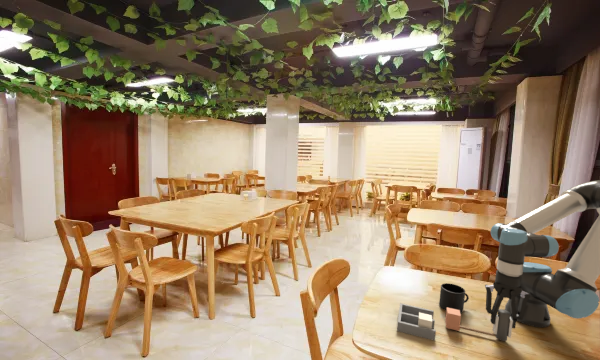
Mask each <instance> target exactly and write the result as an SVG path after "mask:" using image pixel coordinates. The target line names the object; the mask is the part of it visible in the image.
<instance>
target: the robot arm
mask: <svg viewBox="0 0 600 360" xmlns="http://www.w3.org/2000/svg"><path fill="white" fill-rule="evenodd" d="M592 209H594V210H596V212H597V213H598V217H597V218H596V220H595V221H594V222H593V224H592V225H591V228H590V229H588V232H587V234H586V235H585V236H584V238H583V239H582V241H581V242H580V244H579V246H578V247H577V249H576V250H575V252H574V254H573V255H572V256H571V258H570V260H569V261H568V262H567V264H566V266H565V267H564V268H561V269H559V268H558V269H557V270H556V271H555V273H553V270H552V269H553V268H552V267H550V266H549V265H546V264H542V263H536V262H529V261H528V262H527V261H525V259H526V258H529V257H531V258H534V257H537V258H538V257H539V258H548V257H553V256H556V255H557V254H558V252H559V248H560V245H559V243H558V241H557V239H556V238H554V237H553V236H551V235H544V234H537V233H538V232H540V231H542V230H543V229H545V228H547V227H549V226H552V225H553V224H555V223H557V222H559V221H560V220H562V219H565V218H567V217H569V216H570V215H573V214H575V213H582V212H584V211H586V210H592ZM535 233H536V234H535ZM490 235H491V238H492V239H493V240H494V241H496V242H498V244H499V246H498V252H497V253H498V256H497V264H496V269H497V270H496V271H495V279H494V282H493V284H490V285H489V284H485V285H484V287H485V290H486V292H485V293H486V294H485V297H486V299H485V300H486V301H485V302H486V303H485V310H486V313H487V314H490V322H491V324H492V331H493V332H492V333H494V334H497V328H498V320H499V317H498V310H499V309H500V307H501V305H502V302H503V300H504V299H507V302H506V303H505V306H504V310H506V311H508V312H510V320H509V328H508V336H507V338H510V339H511V337H512V330H513V329H515V328H516V324H517V322H519V323H521V324H524V325H527V326H530V327H535V328H548V327H550V325H551V316H550V310H549V307H551V308H553V309H554V310H556V311H558V312H559V313H560V314H563V315H566V316H568V317H570V318H573V319H583V318H588V317H589V316H591V315H592V314H594V313H595V312H596V310H597V309H598V307H599V304H600V303H599V302H600V298H599V296H598V294H597V293H596V292H597V290H598V287H597V285H596V281H597V279H598V278H599V276H600V180H599V179H598V180H591V181H587V182H584V183H580V184H578V185H575V186H573V187H570V188H569V189H566V190H565V191H562V193H561V194H560V196H558V197H556V198H555V199H553V200H551V201H549V202H547V203H545V204H543V205H541V206H540V207H537V208H536V209H534V210H532V211H530V212H528V213H526V214H524V215H522V216H520V217H518V218H516V219H514V220H512V221H511V222H509V223H506V224H505V223H498V222H497V223H495V224H494V225H492V226H491V229H490ZM494 290H495V291H496V295H495V296H496V298H495V300H494V303H493V305H492V302H493V301H492V299H493V297H492V296H493V291H494ZM548 306H549V307H548Z"/></svg>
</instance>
